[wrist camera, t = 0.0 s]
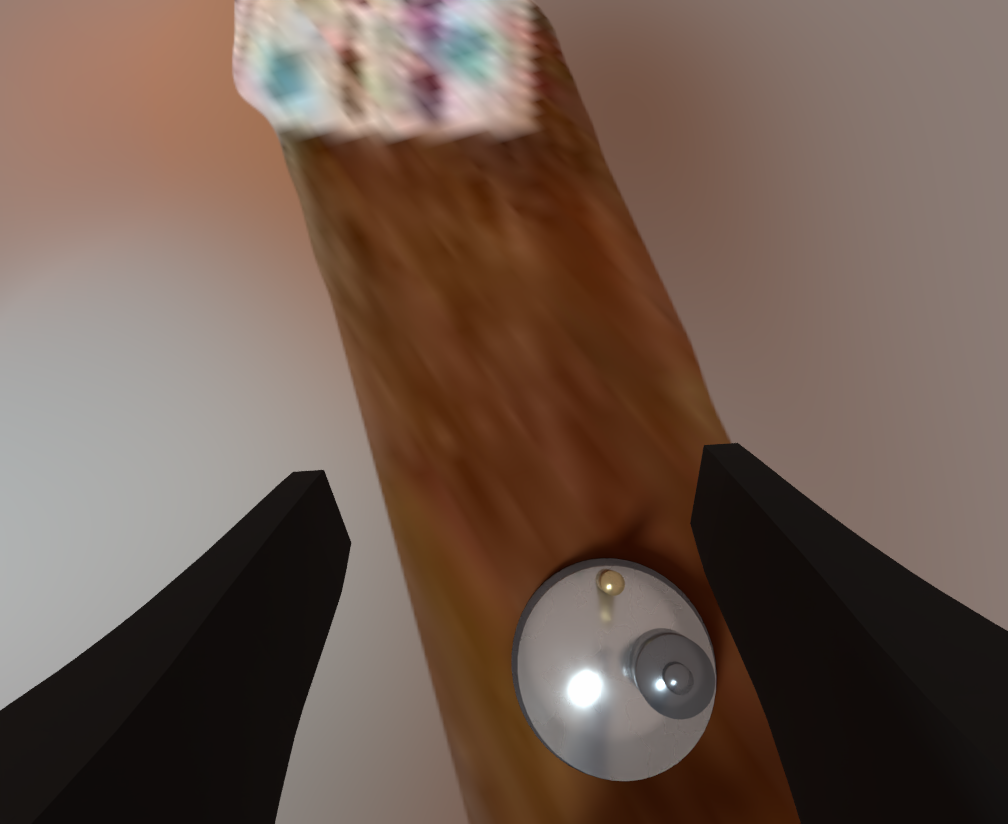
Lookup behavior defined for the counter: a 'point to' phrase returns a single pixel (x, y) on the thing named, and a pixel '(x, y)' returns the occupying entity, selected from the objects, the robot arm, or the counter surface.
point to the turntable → (604, 673)
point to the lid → (672, 673)
